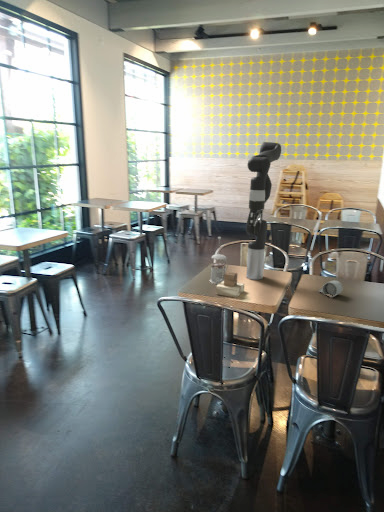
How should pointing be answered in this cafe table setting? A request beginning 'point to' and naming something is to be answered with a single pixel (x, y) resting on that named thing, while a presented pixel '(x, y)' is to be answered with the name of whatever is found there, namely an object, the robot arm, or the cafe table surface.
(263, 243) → the robot arm
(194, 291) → the cafe table surface
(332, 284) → the ceramic mug
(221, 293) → the birch base
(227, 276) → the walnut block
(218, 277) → the french press
